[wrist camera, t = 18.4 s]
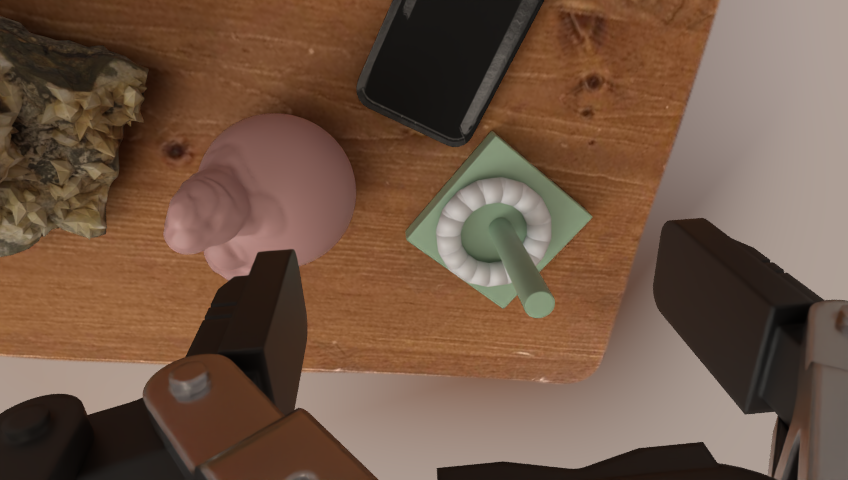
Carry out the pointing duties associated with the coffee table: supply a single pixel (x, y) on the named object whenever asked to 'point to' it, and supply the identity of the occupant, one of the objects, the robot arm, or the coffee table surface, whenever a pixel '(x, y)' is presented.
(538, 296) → the peg stand
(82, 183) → the mineral specimen
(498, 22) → the phone
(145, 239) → the coffee table surface
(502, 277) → the white segmented ring
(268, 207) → the figurine
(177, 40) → the coffee table surface
